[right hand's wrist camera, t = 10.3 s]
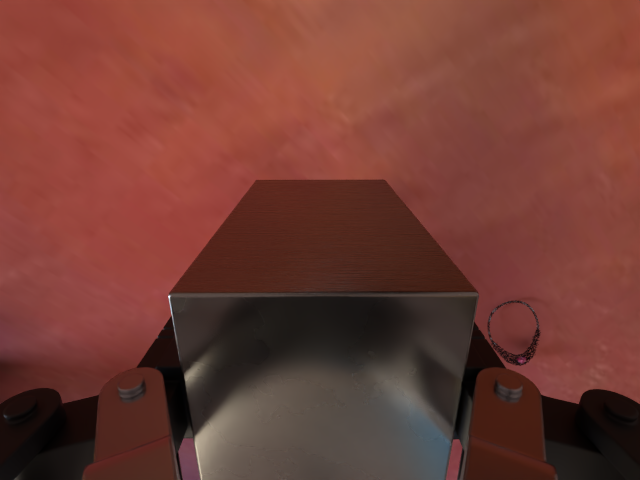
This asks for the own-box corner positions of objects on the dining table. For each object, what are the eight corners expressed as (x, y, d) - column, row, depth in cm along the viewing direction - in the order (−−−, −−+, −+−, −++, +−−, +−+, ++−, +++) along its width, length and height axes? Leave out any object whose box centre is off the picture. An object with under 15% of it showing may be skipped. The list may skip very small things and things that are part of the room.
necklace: (495, 366, 32) (500, 374, 31) (481, 309, 30) (486, 315, 29) (542, 353, 32) (549, 360, 31) (531, 293, 30) (538, 300, 29)
